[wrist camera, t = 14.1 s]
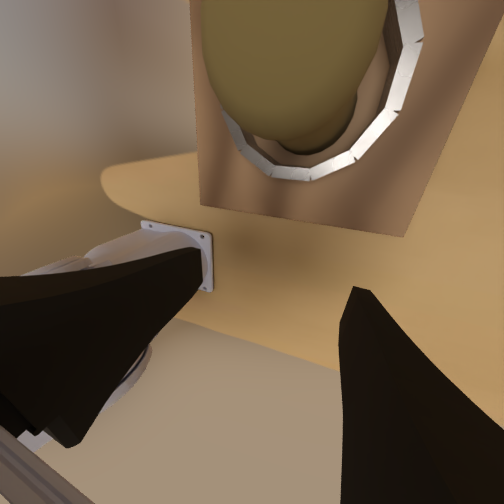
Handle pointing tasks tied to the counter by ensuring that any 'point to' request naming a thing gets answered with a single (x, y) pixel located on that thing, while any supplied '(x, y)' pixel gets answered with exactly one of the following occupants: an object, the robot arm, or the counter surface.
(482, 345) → the counter surface
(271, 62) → the cork
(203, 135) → the walnut mat
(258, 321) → the counter surface
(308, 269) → the counter surface
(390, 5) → the collar
